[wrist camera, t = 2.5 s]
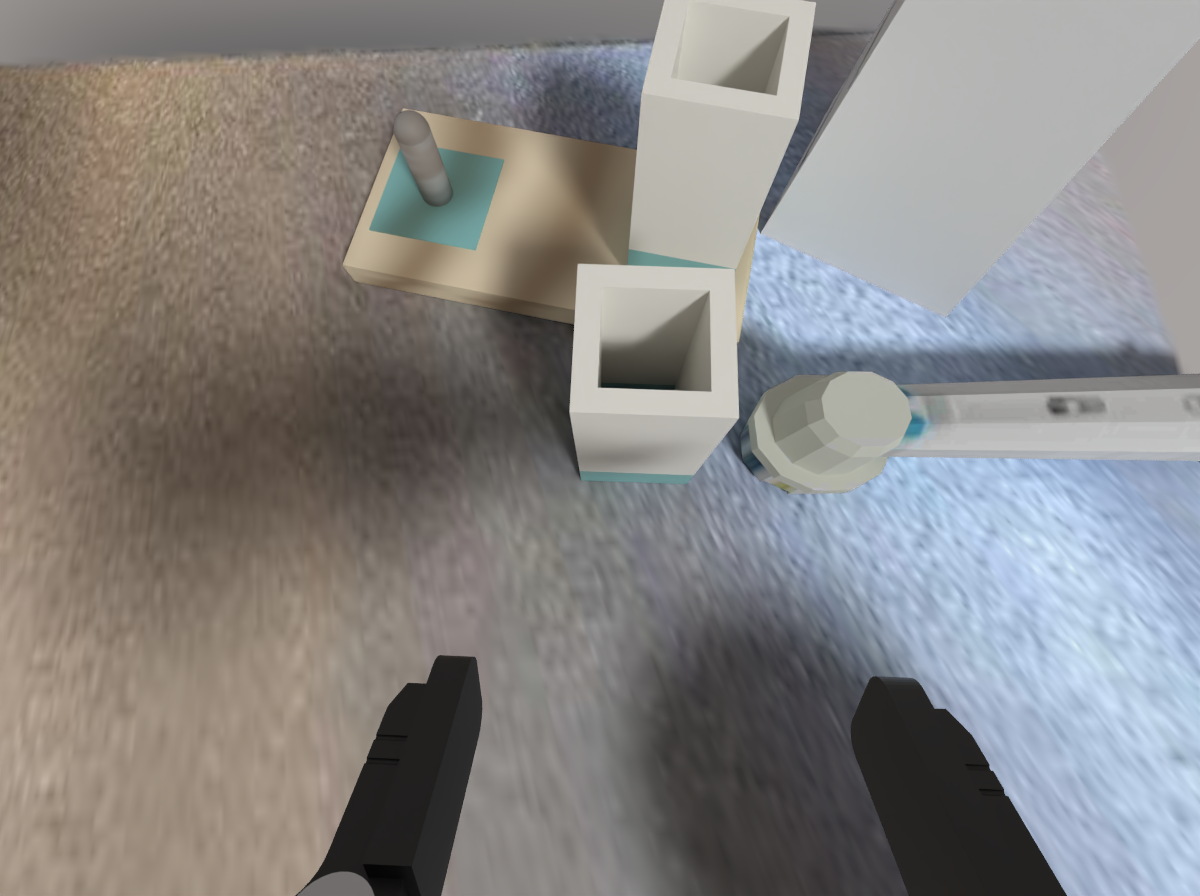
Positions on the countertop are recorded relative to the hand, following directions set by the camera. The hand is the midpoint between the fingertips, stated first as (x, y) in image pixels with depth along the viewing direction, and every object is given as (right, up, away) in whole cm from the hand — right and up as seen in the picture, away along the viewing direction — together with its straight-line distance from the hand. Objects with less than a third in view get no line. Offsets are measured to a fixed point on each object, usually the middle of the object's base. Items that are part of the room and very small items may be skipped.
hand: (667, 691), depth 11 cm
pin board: (-3, +16, +18) cm, 25 cm away
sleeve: (0, +6, +15) cm, 16 cm away
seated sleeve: (+3, +16, +16) cm, 23 cm away
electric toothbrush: (+18, +5, +15) cm, 24 cm away
